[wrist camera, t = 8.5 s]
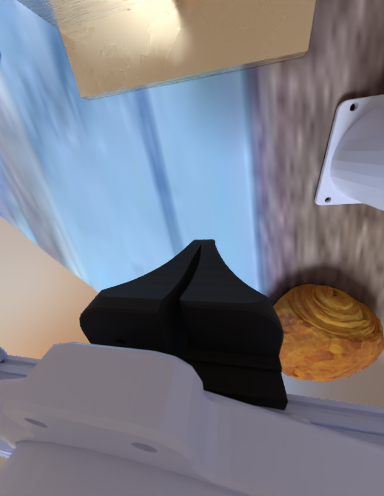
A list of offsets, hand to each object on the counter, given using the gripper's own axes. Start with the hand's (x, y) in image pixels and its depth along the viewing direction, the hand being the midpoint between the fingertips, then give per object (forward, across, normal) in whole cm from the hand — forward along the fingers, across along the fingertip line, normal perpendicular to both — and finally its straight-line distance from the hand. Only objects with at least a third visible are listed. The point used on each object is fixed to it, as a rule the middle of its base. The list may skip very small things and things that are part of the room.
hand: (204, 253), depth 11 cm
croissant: (+10, -13, +18) cm, 24 cm away
